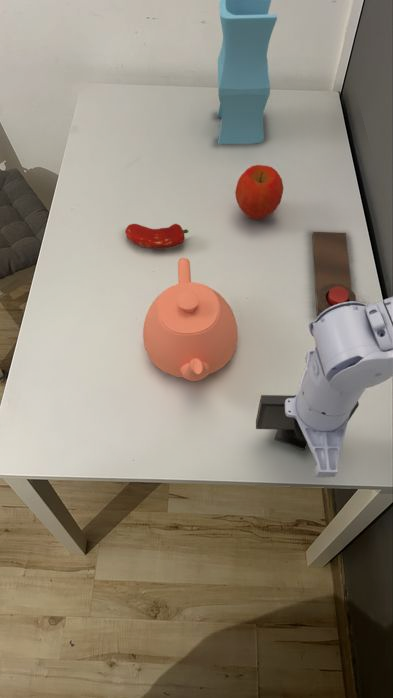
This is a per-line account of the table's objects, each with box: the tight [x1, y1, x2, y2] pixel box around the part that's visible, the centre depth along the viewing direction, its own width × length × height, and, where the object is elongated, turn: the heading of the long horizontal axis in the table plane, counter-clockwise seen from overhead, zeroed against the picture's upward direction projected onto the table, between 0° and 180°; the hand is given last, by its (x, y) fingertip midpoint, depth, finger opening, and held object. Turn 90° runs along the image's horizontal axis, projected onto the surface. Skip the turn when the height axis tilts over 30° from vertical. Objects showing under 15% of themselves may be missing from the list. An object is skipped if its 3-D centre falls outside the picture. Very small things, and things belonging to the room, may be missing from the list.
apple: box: [234, 164, 284, 221], centre depth 91 cm, size 9×8×11 cm
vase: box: [217, 0, 278, 145], centre depth 97 cm, size 10×10×25 cm
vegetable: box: [124, 223, 189, 250], centre depth 92 cm, size 4×5×12 cm
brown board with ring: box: [311, 231, 357, 317], centre depth 87 cm, size 19×6×2 cm, turn 176°
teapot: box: [142, 257, 239, 382], centre depth 77 cm, size 22×15×12 cm
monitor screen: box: [255, 394, 360, 430], centre depth 66 cm, size 1×12×9 cm, turn 89°
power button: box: [327, 286, 349, 306], centre depth 82 cm, size 3×3×2 cm
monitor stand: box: [274, 429, 308, 452], centre depth 71 cm, size 5×5×7 cm
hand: (308, 435), depth 63 cm, fingers closed
